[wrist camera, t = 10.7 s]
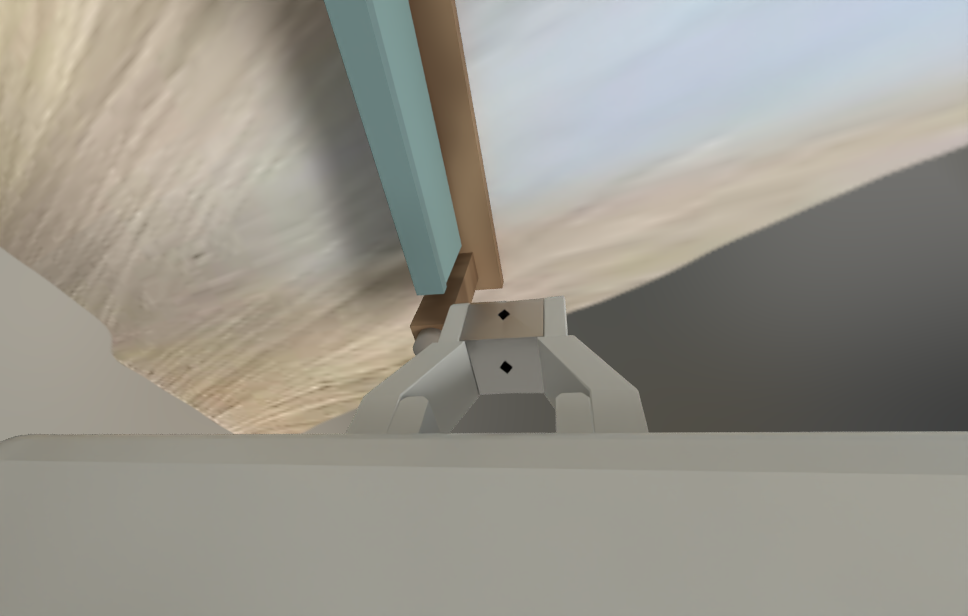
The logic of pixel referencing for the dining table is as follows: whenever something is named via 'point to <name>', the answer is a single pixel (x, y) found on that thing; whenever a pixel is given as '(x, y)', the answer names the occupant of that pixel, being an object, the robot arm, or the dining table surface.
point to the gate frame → (455, 167)
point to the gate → (400, 131)
